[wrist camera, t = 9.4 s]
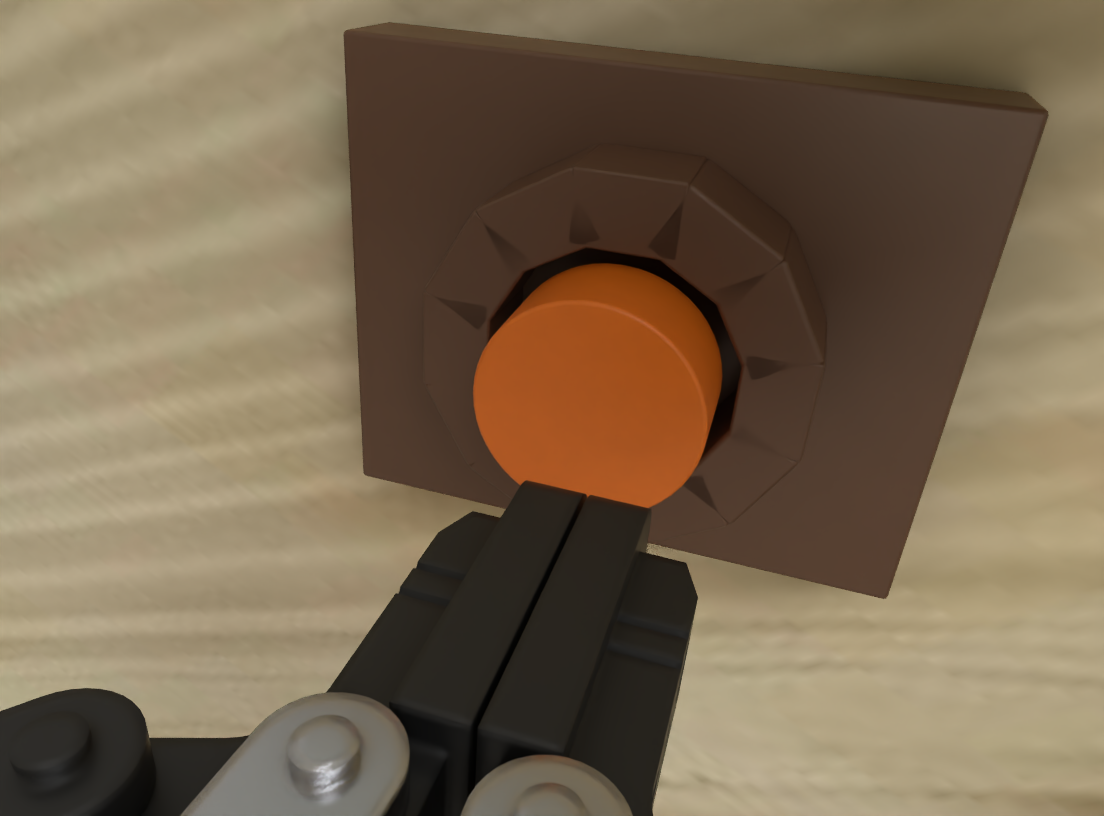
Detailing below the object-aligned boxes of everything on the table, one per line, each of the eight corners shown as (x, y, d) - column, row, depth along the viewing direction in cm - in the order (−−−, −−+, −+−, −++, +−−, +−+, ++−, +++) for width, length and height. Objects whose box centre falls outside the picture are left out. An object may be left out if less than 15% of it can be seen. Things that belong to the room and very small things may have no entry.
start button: (505, 437, 16) (468, 489, 14) (514, 244, 14) (474, 280, 12) (704, 481, 15) (688, 541, 13) (741, 282, 13) (727, 326, 12)
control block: (396, 438, 20) (319, 522, 18) (386, 21, 16) (281, 40, 13) (884, 549, 18) (890, 668, 15) (1030, 92, 14) (1079, 134, 11)
